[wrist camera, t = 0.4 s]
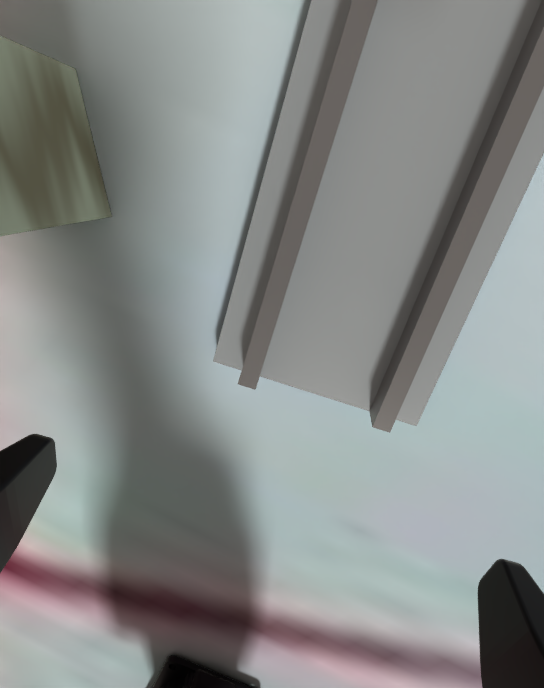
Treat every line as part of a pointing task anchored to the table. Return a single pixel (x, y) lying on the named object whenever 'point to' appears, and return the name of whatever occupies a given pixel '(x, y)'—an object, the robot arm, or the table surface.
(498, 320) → the table surface
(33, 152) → the grey green block
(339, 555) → the table surface
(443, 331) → the door track
